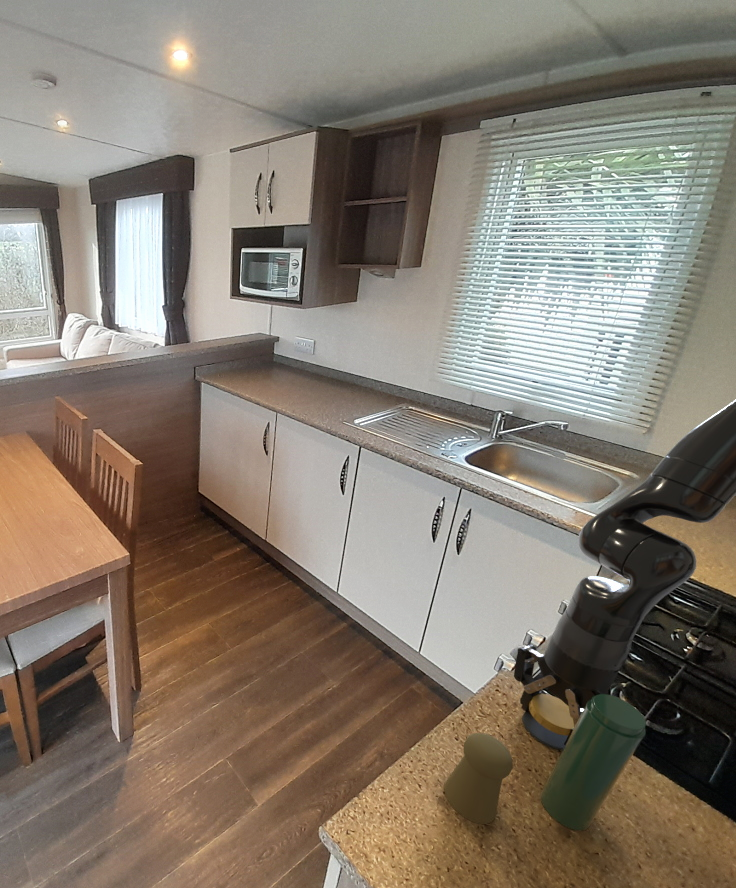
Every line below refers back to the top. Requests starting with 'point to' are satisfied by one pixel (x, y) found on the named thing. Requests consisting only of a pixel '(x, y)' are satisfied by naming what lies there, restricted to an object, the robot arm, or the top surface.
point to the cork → (479, 778)
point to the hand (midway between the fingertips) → (548, 726)
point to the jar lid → (551, 713)
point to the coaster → (543, 733)
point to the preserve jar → (592, 760)
